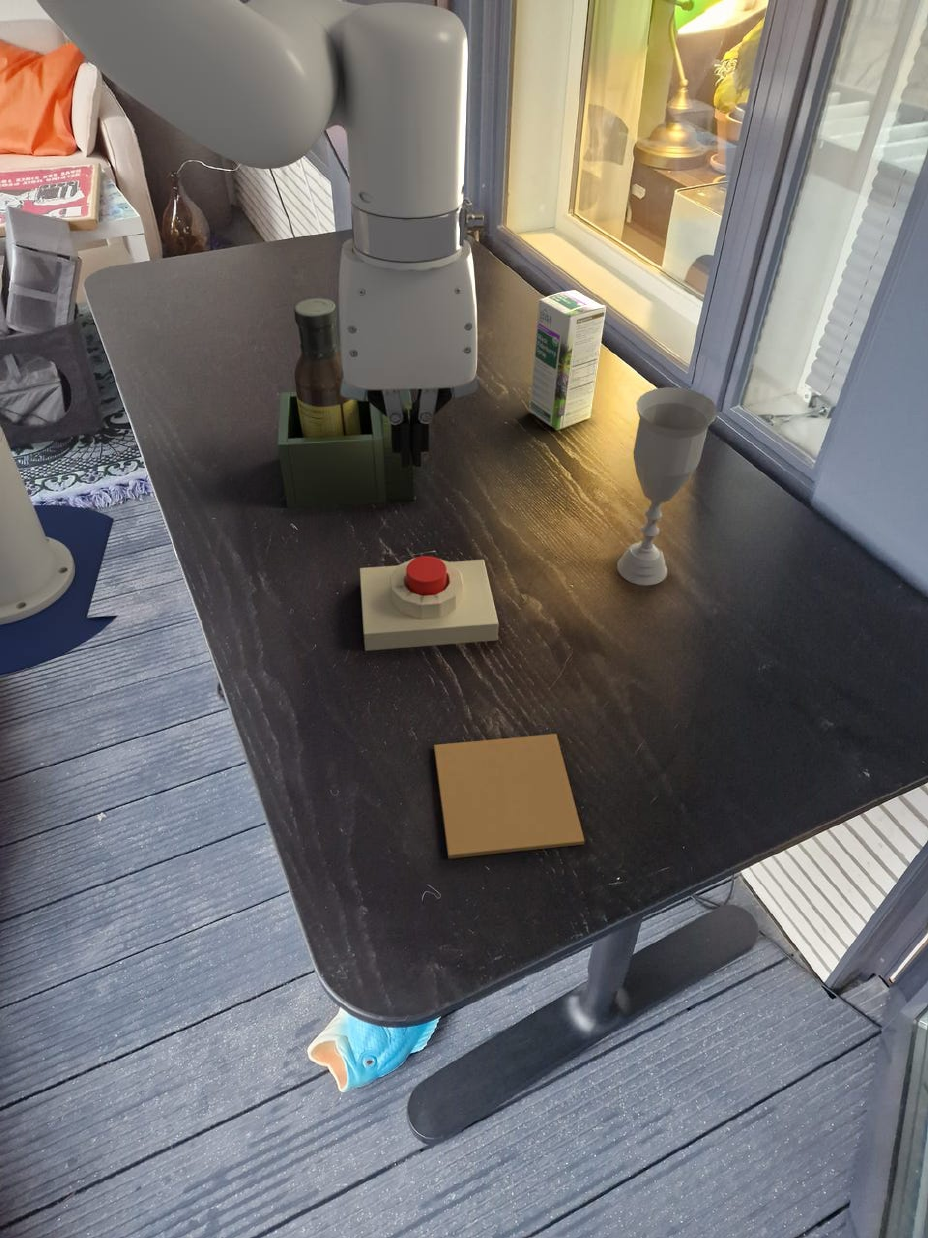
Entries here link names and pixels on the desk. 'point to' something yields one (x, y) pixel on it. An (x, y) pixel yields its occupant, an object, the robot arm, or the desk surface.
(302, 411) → the sauce bottle
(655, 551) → the chalice
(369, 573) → the control block
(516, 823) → the mat
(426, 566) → the button
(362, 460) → the green open box holder
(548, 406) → the syrup box
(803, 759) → the desk surface
